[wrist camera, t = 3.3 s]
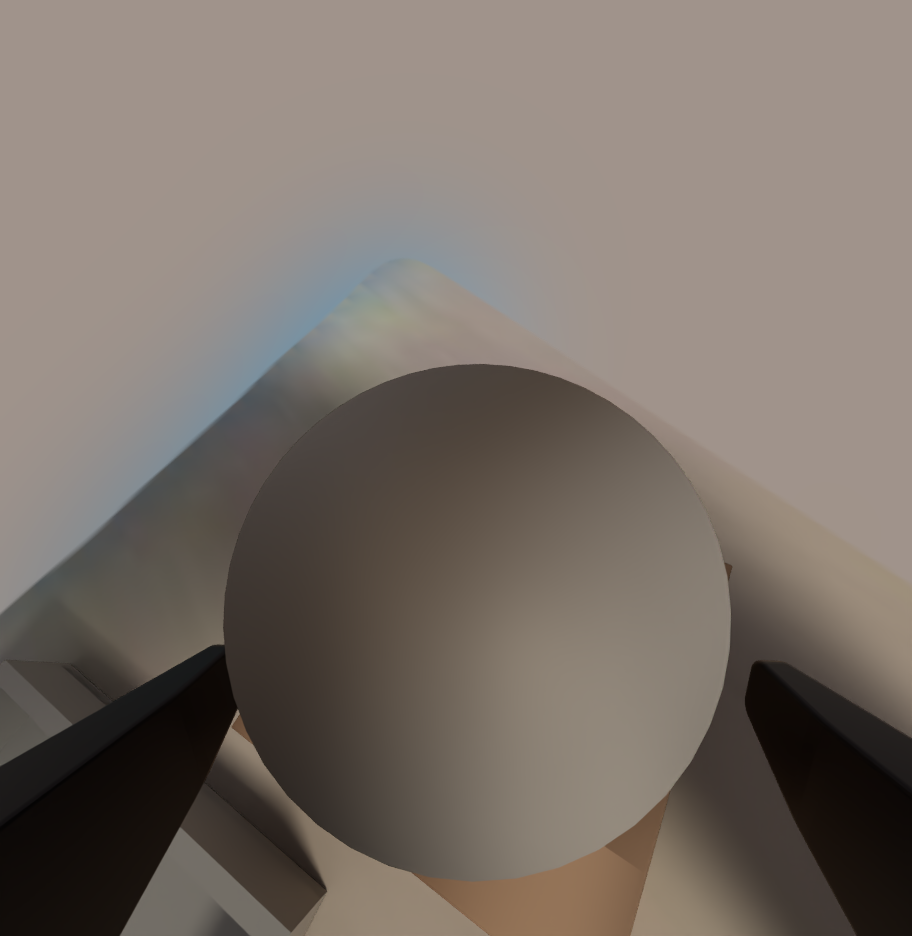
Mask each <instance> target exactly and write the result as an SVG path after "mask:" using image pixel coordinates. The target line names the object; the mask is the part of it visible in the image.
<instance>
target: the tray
mask: <svg viewBox="0 0 912 936" xmlns="http://www.w3.org/2000/svg"><path fill="white" fill-rule="evenodd" d="M112 702H113V701H111V700H110V699H109V698H108V697H107V696H106V695H105V694H104V693H102V692H101V691H100V690H99V689H98V688H97V687H96V686H94V685H93V684H92V683H91V682H90V681H89V680H88V679H87V678H85V677H84V676H83V675H82V674H81V673H80V672H79V671H78V670H76V669H75V668H74V667H73V666H72V665H71V664H68V663H51V662H34V661H17V660H4V661H3V662H2V663H1V665H0V766H1V765H3V764H5V763H6V762H8V761H10V760H12V759H13V758H15V757H17V756H19V755H20V754H22V753H24V752H26V751H28V750H29V749H31V748H33V747H35V746H36V745H38V744H40V743H42V742H43V741H45V740H47V739H49V738H50V737H52V736H54V735H56V734H57V733H59V732H61V731H63V730H64V729H66V728H68V727H70V726H71V725H73V724H75V723H77V722H78V721H80V720H82V719H84V718H85V717H87V716H89V715H91V714H92V713H94V712H96V711H98V710H99V709H101V708H103V707H105V706H106V705H108V704H110V703H112ZM326 892H327V891H326V890H325V889H324V888H323V887H322V886H320V885H319V884H318V883H317V882H316V881H315V880H314V879H313V878H311V877H310V876H309V875H308V874H307V873H306V872H305V871H303V870H302V869H301V868H300V867H299V866H298V865H297V864H296V863H294V862H293V861H292V860H291V859H290V858H289V857H288V856H287V855H285V854H284V853H283V852H282V851H281V850H280V849H279V848H278V847H276V846H275V845H274V844H273V843H272V842H271V841H270V840H268V839H267V838H266V837H265V836H264V835H263V834H262V833H261V832H259V831H258V830H257V829H256V828H255V827H254V826H253V825H252V824H250V823H249V822H248V821H247V820H246V819H245V818H244V817H242V816H241V815H240V814H239V813H238V812H237V811H236V810H235V809H233V808H232V807H231V806H230V805H229V804H228V803H227V802H226V801H224V800H223V799H222V798H221V797H220V796H219V795H218V794H216V793H215V792H214V791H213V790H212V789H211V788H210V787H209V786H207V785H206V784H205V783H204V784H203V786H202V788H201V790H200V791H199V793H198V795H197V797H196V799H195V801H194V803H193V805H192V806H191V808H190V810H189V812H188V814H187V815H186V817H185V819H184V821H183V823H182V825H181V826H180V828H179V830H178V832H177V834H176V835H175V837H174V839H173V841H172V843H171V844H170V846H169V848H168V850H167V852H166V853H165V855H164V857H163V859H162V861H161V863H160V864H159V866H158V868H157V870H156V872H155V873H154V875H153V877H152V879H151V881H150V882H149V884H148V886H147V888H146V890H145V892H144V893H143V895H142V897H141V899H140V901H139V902H138V904H137V906H136V908H135V910H134V911H133V913H132V915H131V917H130V919H129V921H128V922H127V924H126V926H125V928H124V930H123V931H122V933H121V935H120V936H304V935H305V933H306V931H307V929H308V928H309V926H310V924H311V922H312V920H313V918H314V916H315V914H316V912H317V910H318V908H319V906H320V904H321V902H322V900H323V898H324V896H325V894H326Z"/></svg>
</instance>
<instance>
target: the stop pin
mask: <svg viewBox="0 0 912 936" xmlns="http://www.w3.org/2000/svg"><path fill="white" fill-rule="evenodd" d="M730 629H731V606H730V597H729V588H728V578H727V573H726V569H725V565H724V561H723V557H722V553H721V549H720V545H719V541H718V539H717V536H716V533H715V531H714V528H713V526H712V523H711V521H710V518H709V515H708V513H707V511H706V509H705V507H704V505H703V503H702V501H701V500H700V498H699V496H698V494H697V492H696V490H695V489H694V487H693V485H692V483H691V482H690V480H689V479H688V477H687V476H686V475H685V473H684V472H683V470H682V469H681V468H680V466H679V465H678V463H677V462H676V461H675V459H674V458H673V457H672V456H671V454H670V453H669V452H668V451H667V450H666V449H665V448H664V447H663V446H662V445H661V444H660V442H659V441H658V440H657V439H656V438H655V437H654V436H653V435H652V434H651V433H650V432H649V431H647V430H646V429H645V428H644V427H643V426H642V425H641V424H639V423H638V422H637V421H636V420H635V419H634V418H633V417H631V416H630V415H628V414H627V413H625V412H624V411H623V410H621V409H620V408H618V407H617V406H615V405H614V404H612V403H611V402H610V401H608V400H606V399H604V398H602V397H601V396H599V395H597V394H595V393H593V392H591V391H589V390H588V389H586V388H584V387H581V386H579V385H576V384H574V383H571V382H569V381H566V380H564V379H561V378H559V377H555V376H552V375H548V374H545V373H541V372H538V371H534V370H529V369H523V368H517V367H512V366H502V365H488V364H473V365H454V366H446V367H439V368H432V369H428V370H424V371H419V372H415V373H411V374H407V375H405V376H402V377H399V378H396V379H393V380H390V381H387V382H384V383H382V384H380V385H378V386H376V387H374V388H371V389H369V390H367V391H365V392H363V393H361V394H359V395H357V396H356V397H354V398H352V399H351V400H349V401H347V402H346V403H344V404H342V405H340V406H339V407H338V408H336V409H335V410H334V411H332V412H331V413H330V414H328V415H327V416H325V417H324V418H323V419H321V420H320V421H319V422H318V423H316V424H315V425H314V426H313V427H312V428H311V429H310V430H309V431H308V432H307V433H305V434H304V435H303V436H302V437H301V438H300V439H299V440H298V441H297V442H296V443H295V444H294V446H293V447H292V448H291V449H290V450H289V451H288V452H287V453H286V455H285V456H284V457H283V458H282V459H281V460H280V462H279V463H278V464H277V466H276V467H275V469H274V470H273V471H272V473H271V474H270V476H269V477H268V478H267V480H266V481H265V483H264V484H263V486H262V488H261V490H260V491H259V493H258V495H257V497H256V499H255V500H254V502H253V504H252V506H251V507H250V510H249V512H248V514H247V517H246V519H245V522H244V524H243V526H242V529H241V531H240V533H239V536H238V539H237V543H236V546H235V550H234V553H233V556H232V560H231V563H230V568H229V574H228V580H227V586H226V592H225V604H224V625H223V630H224V642H225V655H226V664H227V669H228V673H229V678H230V682H231V687H232V692H233V696H234V699H235V702H236V705H237V707H238V710H239V713H240V716H241V718H242V721H243V724H244V727H245V729H246V732H247V734H248V735H249V737H250V739H251V741H252V743H253V745H254V747H255V748H256V750H257V752H258V754H259V756H260V758H261V760H262V762H263V763H264V765H265V766H266V768H267V769H268V770H269V772H270V773H271V774H272V776H273V777H274V778H275V780H276V781H277V782H278V784H279V785H280V786H281V788H282V789H283V790H284V792H285V793H286V794H287V796H288V797H289V798H290V799H291V800H292V801H293V802H294V803H296V804H297V805H298V806H299V807H300V808H301V809H302V810H303V811H304V812H305V813H306V814H307V815H308V816H309V817H310V818H311V819H312V820H313V821H314V822H315V823H316V824H317V825H319V826H320V827H322V828H323V829H324V830H326V831H327V832H329V833H330V834H332V835H333V836H334V837H336V838H337V839H339V840H340V841H342V842H343V843H344V844H346V845H347V846H349V847H350V848H352V849H354V850H356V851H359V852H361V853H363V854H365V855H367V856H369V857H371V858H373V859H375V860H377V861H379V862H382V863H384V864H386V865H388V866H391V867H395V868H398V869H402V870H405V871H409V872H412V873H416V874H419V875H423V876H427V877H431V878H441V879H451V880H461V881H470V882H476V881H489V880H503V879H516V878H520V877H524V876H528V875H532V874H536V873H540V872H544V871H548V870H552V869H556V868H559V867H562V866H564V865H566V864H568V863H570V862H573V861H575V860H577V859H579V858H581V857H584V856H586V855H588V854H590V853H593V852H595V851H597V850H599V849H601V848H602V847H604V846H605V845H606V844H608V843H609V842H611V841H612V840H614V839H615V838H617V837H618V836H620V835H621V834H623V833H624V832H626V831H627V830H629V829H630V828H632V827H633V826H634V825H636V824H637V823H638V822H639V821H640V820H641V819H642V818H643V817H644V816H645V815H646V814H647V813H648V812H649V811H650V810H651V809H652V808H653V807H654V806H655V805H656V804H658V803H659V802H660V801H661V800H662V799H663V798H664V797H665V796H666V795H667V793H668V792H669V791H670V789H671V788H672V787H673V785H674V784H675V783H676V781H677V780H678V779H679V777H680V776H681V775H682V773H683V772H684V771H685V769H686V768H687V767H688V765H689V764H690V763H691V761H692V759H693V757H694V755H695V753H696V751H697V749H698V748H699V746H700V744H701V742H702V740H703V738H704V736H705V734H706V732H707V730H708V728H709V726H710V724H711V721H712V718H713V715H714V712H715V710H716V707H717V704H718V701H719V698H720V695H721V692H722V689H723V685H724V679H725V673H726V668H727V662H728V657H729V651H730Z"/></svg>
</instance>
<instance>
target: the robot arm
mask: <svg viewBox="0 0 912 936" xmlns="http://www.w3.org/2000/svg"><path fill="white" fill-rule="evenodd" d="M745 707H746V711H747V714H748V717H749V719H750V721H751V724H752V726H753V728H754V731H755V733H756V735H757V737H758V740H759V742H760V744H761V747H762V749H763V751H764V753H765V756H766V758H767V760H768V762H769V765H770V767H771V769H772V772H773V774H774V776H775V778H776V781H777V783H778V785H779V787H780V790H781V792H782V794H783V797H784V799H785V801H786V803H787V805H788V808H789V810H790V812H791V814H792V816H793V818H794V820H795V822H796V824H797V826H798V828H799V830H800V832H801V834H802V836H803V838H804V840H805V842H806V843H807V845H808V847H809V849H810V851H811V853H812V854H813V856H814V858H815V860H816V862H817V864H818V866H819V867H820V869H821V871H822V873H823V875H824V877H825V878H826V880H827V882H828V884H829V886H830V888H831V889H832V891H833V893H834V895H835V897H836V899H837V900H838V902H839V904H840V906H841V908H842V910H843V911H844V913H845V915H846V917H847V919H848V921H849V922H850V924H851V926H852V928H853V930H854V932H855V933H856V935H857V936H912V738H910V737H909V736H907V735H905V734H904V733H902V732H900V731H899V730H897V729H895V728H894V727H892V726H891V725H889V724H887V723H886V722H884V721H882V720H881V719H879V718H877V717H876V716H874V715H872V714H871V713H869V712H867V711H866V710H864V709H862V708H861V707H859V706H857V705H856V704H854V703H852V702H851V701H849V700H847V699H846V698H844V697H842V696H841V695H839V694H837V693H836V692H834V691H832V690H831V689H829V688H827V687H826V686H824V685H822V684H821V683H819V682H817V681H816V680H814V679H812V678H811V677H809V676H807V675H806V674H804V673H802V672H801V671H799V670H798V669H796V668H794V667H793V666H791V665H789V664H787V663H785V662H783V661H769V660H758V661H756V662H754V664H753V665H752V668H751V672H750V677H749V681H748V686H747V691H746V696H745ZM237 709H238V707H237V705H236V702H235V699H234V696H233V692H232V687H231V682H230V678H229V673H228V669H227V664H226V655H225V645H219V644H217V645H212V646H210V647H208V648H206V649H205V650H203V651H201V652H199V653H198V654H196V655H194V656H192V657H191V658H189V659H187V660H185V661H184V662H182V663H180V664H178V665H177V666H175V667H173V668H171V669H170V670H168V671H166V672H164V673H163V674H161V675H159V676H157V677H156V678H154V679H152V680H150V681H149V682H147V683H145V684H143V685H142V686H140V687H138V688H136V689H135V690H133V691H131V692H129V693H127V694H126V695H124V696H122V697H120V698H119V699H117V700H115V701H113V702H112V703H110V704H108V705H106V706H105V707H103V708H101V709H99V710H98V711H96V712H94V713H92V714H91V715H89V716H87V717H85V718H84V719H82V720H80V721H78V722H77V723H75V724H73V725H71V726H70V727H68V728H66V729H64V730H63V731H61V732H59V733H57V734H56V735H54V736H52V737H50V738H49V739H47V740H45V741H43V742H42V743H40V744H38V745H36V746H35V747H33V748H31V749H29V750H28V751H26V752H24V753H22V754H20V755H19V756H17V757H15V758H13V759H12V760H10V761H8V762H6V763H5V764H3V765H1V766H0V936H120V935H121V933H122V931H123V930H124V928H125V926H126V924H127V922H128V921H129V919H130V917H131V915H132V913H133V911H134V910H135V908H136V906H137V904H138V902H139V901H140V899H141V897H142V895H143V893H144V892H145V890H146V888H147V886H148V884H149V882H150V881H151V879H152V877H153V875H154V873H155V872H156V870H157V868H158V866H159V864H160V863H161V861H162V859H163V857H164V855H165V853H166V852H167V850H168V848H169V846H170V844H171V843H172V841H173V839H174V837H175V835H176V834H177V832H178V830H179V828H180V826H181V825H182V823H183V821H184V819H185V817H186V815H187V814H188V812H189V810H190V808H191V806H192V805H193V803H194V801H195V799H196V797H197V795H198V793H199V791H200V790H201V788H202V786H203V784H204V782H205V780H206V778H207V776H208V774H209V771H210V769H211V767H212V765H213V763H214V761H215V758H216V756H217V754H218V752H219V749H220V747H221V745H222V743H223V740H224V738H225V736H226V734H227V732H228V729H229V727H230V725H231V723H232V720H233V718H234V716H235V714H236V711H237Z"/></svg>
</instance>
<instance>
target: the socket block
mask: <svg viewBox="0 0 912 936" xmlns="http://www.w3.org/2000/svg"><path fill="white" fill-rule="evenodd" d="M724 565H725V569H726V573H727V578H728V580H729V577H730V573H731V570H732V566H731V565H729V564H727V563H724ZM232 728H233V729H234V730H235V731H237V732H238V733H239V734H240V735H242V736H243V737H244V738H245V739H247V740H248V741H249V742H250V743H252V741H251V739H250V737H249V735H248V734H247V732H246V729H245V727H244V724H243V721H242V718H241V716H240V715H239V716H238V718H237V719H236V721H235V722H234V724H233V725H232ZM252 744H253V743H252ZM670 790H671V789H670ZM669 794H670V791H669V792H668V793H667V795H666V796H665V797H664V798H663V799H662V800H661V801H660V802H659V803H658V804H656V805H655V806H654V807H653V808H652V809H651V810H650V811H649V812H648V813H647V814H646V815H645V816H644V817H643V818H642V819H641V820H640V821H639V822H638V823H637V824H636V825H634V826H633V827H632V828H630V829H629V830H627V831H626V832H624V833H623V834H621V835H620V836H618V837H617V838H615V839H614V840H612V841H611V842H609V843H608V844H606V845H605V846H604V847H602V848H601V849H599V850H597V851H595V852H593V853H590V854H588V855H586V856H584V857H581V858H579V859H577V860H575V861H573V862H570V863H568V864H566V865H564V866H562V867H559V868H556V869H552V870H548V871H544V872H540V873H536V874H532V875H528V876H524V877H520V878H516V879H503V880H489V881H476V882H470V881H461V880H451V879H441V878H431V877H427V876H423V875H419V874H416V873H413V874H414V875H415V876H417V877H418V878H419V879H420V880H421V881H423V882H424V883H425V884H426V885H428V886H429V887H430V888H431V889H433V890H434V891H435V892H436V893H438V894H439V895H440V896H441V897H443V898H444V899H445V900H446V901H448V902H449V903H450V904H451V905H452V906H454V907H455V908H456V909H457V910H459V911H460V912H461V913H462V914H464V915H465V916H466V917H467V918H469V919H470V920H471V921H472V922H474V923H475V924H476V925H477V926H479V927H480V928H481V929H482V930H483V931H485V932H486V933H487V934H488V935H490V936H630V935H631V931H632V927H633V924H634V920H635V917H636V913H637V909H638V906H639V902H640V898H641V895H642V891H643V888H644V884H645V880H646V877H647V873H648V870H649V866H650V862H651V859H652V855H653V851H654V848H655V844H656V841H657V837H658V833H659V830H660V826H661V823H662V819H663V815H664V812H665V808H666V805H667V801H668V797H669Z"/></svg>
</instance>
